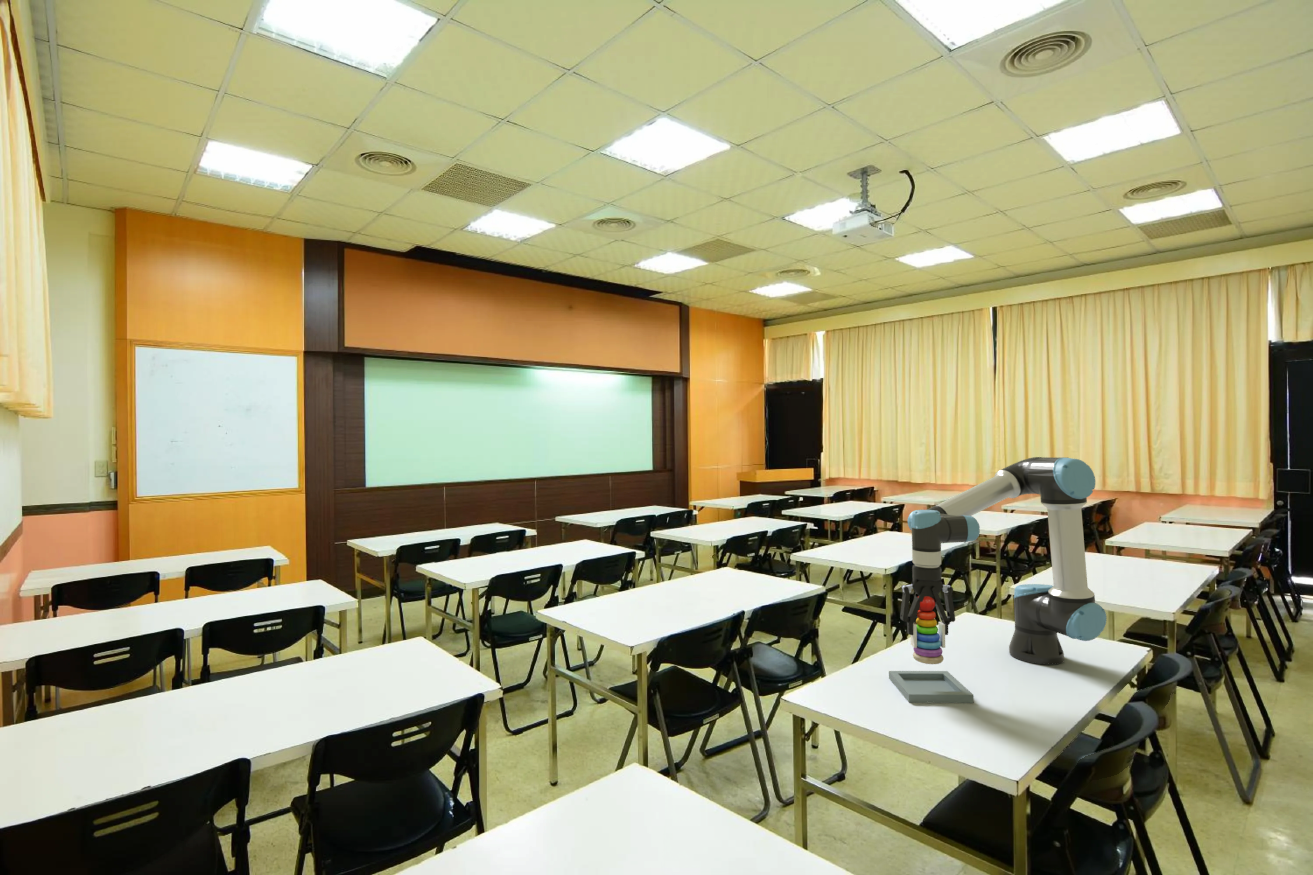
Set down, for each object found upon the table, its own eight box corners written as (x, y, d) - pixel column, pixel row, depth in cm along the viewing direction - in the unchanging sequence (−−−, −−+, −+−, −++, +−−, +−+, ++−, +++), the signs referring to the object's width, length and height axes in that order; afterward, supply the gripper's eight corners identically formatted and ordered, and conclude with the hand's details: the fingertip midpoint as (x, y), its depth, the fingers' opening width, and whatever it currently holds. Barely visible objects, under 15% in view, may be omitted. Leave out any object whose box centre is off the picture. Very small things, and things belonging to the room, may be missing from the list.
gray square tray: (947, 678, 183) (947, 670, 183) (973, 702, 166) (973, 694, 166) (888, 678, 184) (888, 670, 184) (909, 702, 167) (908, 694, 167)
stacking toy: (937, 655, 179) (936, 590, 179) (947, 665, 171) (946, 597, 171) (909, 655, 180) (908, 590, 180) (918, 665, 172) (917, 597, 172)
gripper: (957, 562, 179) (958, 641, 178) (886, 562, 180) (887, 641, 180) (968, 567, 171) (970, 650, 171) (895, 567, 172) (896, 650, 172)
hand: (927, 645), depth 175 cm, fingers closed on stacking toy, 7 cm apart
